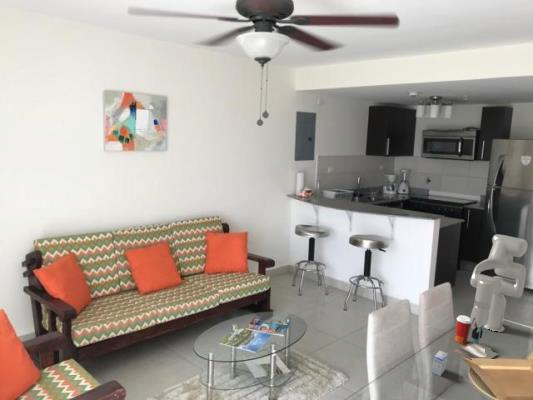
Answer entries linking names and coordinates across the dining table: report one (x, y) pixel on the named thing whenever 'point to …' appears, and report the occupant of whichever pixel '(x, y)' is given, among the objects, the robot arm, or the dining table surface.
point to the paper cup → (462, 329)
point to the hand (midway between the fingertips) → (476, 337)
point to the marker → (478, 337)
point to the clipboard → (473, 350)
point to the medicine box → (439, 363)
